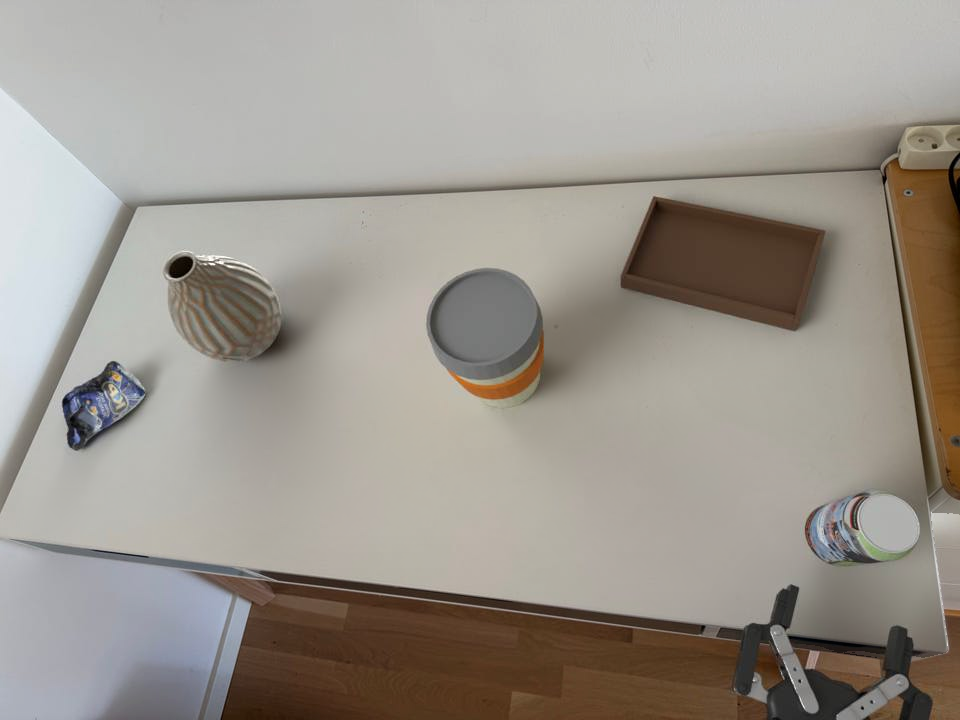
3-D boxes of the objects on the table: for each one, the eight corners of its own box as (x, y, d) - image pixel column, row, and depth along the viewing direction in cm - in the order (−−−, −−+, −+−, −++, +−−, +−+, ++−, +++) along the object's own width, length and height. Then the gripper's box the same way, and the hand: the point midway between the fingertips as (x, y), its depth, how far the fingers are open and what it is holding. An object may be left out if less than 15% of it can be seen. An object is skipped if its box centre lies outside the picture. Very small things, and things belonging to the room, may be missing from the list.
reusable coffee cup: (551, 423, 78) (534, 370, 65) (450, 420, 81) (415, 367, 68) (558, 331, 83) (544, 264, 70) (463, 331, 86) (432, 266, 73)
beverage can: (816, 496, 68) (850, 462, 58) (890, 535, 65) (940, 506, 55) (790, 548, 66) (820, 522, 56) (865, 590, 63) (911, 571, 53)
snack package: (133, 451, 88) (155, 372, 93) (92, 437, 83) (118, 354, 88) (71, 456, 93) (95, 380, 97) (28, 443, 87) (56, 363, 92)
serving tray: (820, 243, 81) (826, 230, 79) (794, 331, 77) (799, 320, 74) (652, 208, 88) (653, 195, 86) (620, 287, 84) (620, 276, 82)
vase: (284, 281, 96) (218, 205, 81) (307, 350, 90) (240, 281, 74) (204, 320, 96) (123, 251, 81) (221, 392, 90) (137, 331, 74)
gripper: (920, 867, 46) (956, 638, 51) (714, 766, 51) (767, 567, 56) (884, 845, 52) (919, 644, 58) (705, 757, 57) (753, 579, 63)
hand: (844, 606), depth 57 cm, fingers open, 8 cm apart
